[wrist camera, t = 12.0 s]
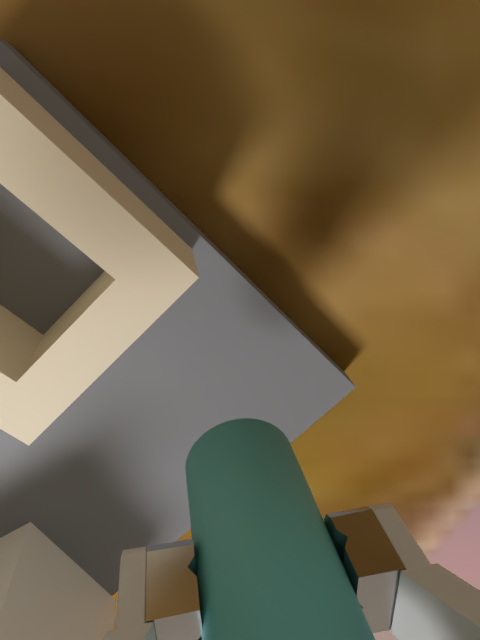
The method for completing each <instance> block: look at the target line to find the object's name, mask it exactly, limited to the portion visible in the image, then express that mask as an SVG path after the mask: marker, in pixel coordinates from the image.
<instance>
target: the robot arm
mask: <svg viewBox="0 0 480 640" xmlns="http://www.w3.org/2000/svg"><path fill="white" fill-rule="evenodd" d="M324 523H325V525H326V528H327V530H328V532H329V534H330V537H331V539H332V541H333V544H334V546H335V548H336V550H337V553H338V555H339V557H340V560H341V562H342V564H343V567H344V569H345V571H346V573H347V576H348V578H349V580H350V583H351V585H352V587H353V590H354V592H355V594H356V596H357V599H358V601H359V603H360V606H361V608H362V610H363V613H364V615H365V617H366V619H367V622H368V624H369V626H370V629H371V631H372V633H376V632H381V631H387V630H391V633H392V634H393V635H395V637H397V638H398V639H399V640H480V590H478V589H476V588H475V587H473V586H472V585H470V584H469V583H467V582H466V581H464V580H462V579H461V578H459V577H458V576H456V575H455V574H453V573H451V572H450V571H448V570H447V569H445V568H443V567H442V566H440V565H439V564H430V562H429V561H428V559H427V558H426V556H425V554H424V553H423V551H422V550H421V548H420V547H419V545H418V544H417V542H416V541H415V539H414V538H413V536H412V534H411V533H410V531H409V530H408V528H407V527H406V525H405V524H404V522H403V521H402V519H401V518H400V516H399V514H398V513H397V511H396V510H395V508H394V507H393V506H392V505H391V504H390V503H386V504H380V505H374V506H369V507H361V508H356V509H351V510H346V511H341V512H336V513H330V514H326V516H325V518H324ZM201 635H202V620H201V610H200V600H199V590H198V582H197V570H196V561H195V552H194V543H193V539H190V540H183V541H177V542H170V543H164V544H157V545H150V546H145V547H139V548H133V549H127V550H123V551H122V555H121V560H120V573H119V587H118V601H117V615H116V628H115V629H114V630H110V631H107V633H106V635H105V636H104V638H103V639H102V640H202V638H201Z"/></svg>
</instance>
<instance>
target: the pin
mask: <svg viewBox="0 0 480 640" xmlns="http://www.w3.org/2000/svg"><path fill="white" fill-rule="evenodd" d="M185 469H186V481H187V492H188V502H189V512H190V523H191V533H192V539H193V543H194V552H195V561H196V570H197V582H198V590H199V600H200V610H201V620H202V635H201V638H202V640H375V638H374V636H373V633H372V631H371V629H370V626H369V624H368V622H367V619H366V617H365V615H364V613H363V610H362V608H361V606H360V603H359V601H358V599H357V596H356V594H355V592H354V590H353V587H352V585H351V583H350V580H349V578H348V576H347V573H346V571H345V569H344V567H343V564H342V562H341V560H340V557H339V555H338V553H337V550H336V548H335V546H334V544H333V541H332V539H331V537H330V534H329V532H328V530H327V528H326V525H325V523H324V521H323V518H322V516H321V514H320V511H319V509H318V507H317V505H316V502H315V500H314V498H313V495H312V493H311V491H310V488H309V486H308V484H307V482H306V479H305V477H304V475H303V472H302V470H301V468H300V465H299V463H298V461H297V459H296V456H295V454H294V452H293V449H292V447H291V445H290V442H289V440H288V438H287V437H286V435H285V434H284V433H283V432H282V431H281V430H280V429H279V428H277V427H276V426H274V425H273V424H271V423H269V422H266V421H263V420H259V419H252V418H242V419H235V420H230V421H227V422H224V423H221V424H219V425H217V426H215V427H213V428H211V429H209V430H208V431H207V432H205V433H204V434H203V435H202V436H201V437H200V438H199V439H198V440H197V441H196V442H195V443H194V445H193V446H192V448H191V449H190V451H189V454H188V456H187V460H186V466H185Z"/></svg>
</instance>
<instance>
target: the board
mask: <svg viewBox="0 0 480 640" xmlns="http://www.w3.org/2000/svg"><path fill="white" fill-rule="evenodd" d="M354 388H356V387H355V385H354V384H353V383H352V381H351V380H350V379H349V377H348V376H347V375H346V373H345V372H344V371H343V370H342V369H341V368H340V367H339V366H338V365H337V364H336V363H335V362H334V361H333V360H332V359H331V358H330V357H329V356H328V355H327V354H326V353H325V352H324V351H323V350H322V349H321V348H320V347H319V346H318V345H316V344H315V343H314V342H313V341H312V340H311V339H310V338H309V337H308V336H307V335H306V334H305V333H304V332H303V331H302V330H301V329H300V328H299V327H298V326H297V325H296V324H295V323H294V322H293V321H292V320H291V319H290V318H289V317H288V316H287V315H286V314H285V313H284V312H283V311H282V310H281V309H280V308H279V307H278V306H277V305H276V304H275V303H274V302H273V301H272V300H271V299H270V298H269V297H268V296H267V295H266V294H265V293H264V292H263V291H261V290H260V289H259V288H258V287H257V286H256V285H255V284H254V283H253V282H252V281H251V280H250V279H249V278H248V277H247V276H246V275H245V274H244V273H243V272H242V271H241V270H240V269H239V268H238V267H237V266H236V265H235V264H234V263H233V262H232V261H231V260H230V259H229V258H228V257H227V256H226V255H225V254H224V253H223V252H222V251H221V250H220V249H219V248H218V247H217V246H216V245H215V244H214V243H213V242H212V241H211V240H210V239H209V238H208V237H207V236H205V235H204V234H203V233H202V232H201V231H200V230H199V229H198V228H197V227H196V226H195V225H194V224H193V223H192V222H191V221H190V220H189V219H188V218H187V217H186V216H185V215H184V214H183V213H182V212H181V211H180V210H179V209H178V208H177V207H176V206H175V205H174V204H173V203H172V202H171V201H170V200H169V199H168V198H167V197H166V196H165V195H164V194H163V193H162V192H161V191H160V190H159V189H158V188H157V187H156V186H155V185H154V184H153V183H152V182H150V181H149V180H148V179H147V178H146V177H145V176H144V175H143V174H142V173H141V172H140V171H139V170H138V169H137V168H136V167H135V166H134V165H133V164H132V163H131V162H130V161H129V160H128V159H127V158H126V157H125V156H124V155H123V154H122V153H121V152H120V151H119V150H118V149H117V148H116V147H115V146H114V145H113V144H112V143H111V142H110V141H109V140H108V139H107V138H106V137H105V136H104V135H103V134H102V133H101V132H100V131H99V130H98V129H97V128H96V127H94V126H93V125H92V124H91V123H90V122H89V121H88V120H87V119H86V118H85V117H84V116H83V115H82V114H81V113H80V112H79V111H78V110H77V109H76V108H75V107H74V106H73V105H72V104H71V103H70V102H69V101H68V100H67V99H66V98H65V97H64V96H63V95H62V94H61V93H60V92H59V91H58V90H57V89H56V88H55V87H54V86H53V85H52V84H51V83H50V82H49V81H48V80H47V79H46V78H45V77H44V76H43V75H42V74H41V73H39V72H38V71H37V70H36V69H35V68H34V67H33V66H32V65H31V64H30V63H29V62H28V61H27V60H26V59H25V58H24V57H23V56H22V55H21V54H20V53H19V52H18V51H17V50H16V49H15V48H14V47H13V46H12V45H11V44H10V43H9V42H7V41H6V40H4V39H2V38H0V538H1V537H3V536H5V535H7V534H9V533H11V532H12V531H14V530H16V529H18V528H20V527H22V526H24V525H26V524H27V523H29V522H31V523H32V524H33V525H35V526H36V527H37V528H38V529H39V530H40V531H41V532H42V533H43V534H44V535H46V536H47V537H48V538H49V539H50V540H51V541H52V542H53V543H54V544H55V545H57V546H58V547H59V548H60V549H61V550H62V551H63V552H64V553H65V554H66V555H67V556H69V557H70V558H71V559H72V560H73V561H74V562H75V563H76V564H77V565H78V566H80V567H81V568H82V569H83V570H84V571H85V572H86V573H87V574H88V575H89V576H91V577H92V578H93V579H94V580H95V581H96V582H97V583H98V584H99V585H100V586H101V587H103V588H104V589H105V590H106V591H107V592H108V593H109V594H110V595H111V596H112V595H114V594H115V593H116V592H117V591H118V587H119V573H120V560H121V555H122V551H123V550H127V549H133V548H139V547H145V546H150V545H157V544H164V543H170V542H176V541H177V540H178V539H179V538H180V537H181V536H183V535H184V534H185V533H186V532H187V531H188V530H190V529H191V523H190V512H189V502H188V492H187V481H186V469H185V466H186V460H187V456H188V454H189V451H190V449H191V448H192V446H193V445H194V443H195V442H196V441H197V440H198V439H199V438H200V437H201V436H202V435H203V434H204V433H205V432H207V431H208V430H209V429H211V428H213V427H215V426H217V425H219V424H221V423H224V422H227V421H230V420H235V419H242V418H252V419H259V420H263V421H266V422H269V423H271V424H273V425H274V426H276V427H277V428H279V429H280V430H281V431H282V432H283V433H284V434H285V435H286V437H287V438H288V440H289V442H290V443H291V442H292V441H294V440H295V439H296V438H297V437H298V436H299V435H301V434H302V433H303V432H304V431H305V430H306V429H308V428H309V427H310V426H311V425H312V424H313V423H315V422H316V421H317V420H318V419H319V418H321V417H322V416H323V415H324V414H325V413H326V412H328V411H329V410H330V409H331V408H332V407H333V406H335V405H336V404H337V403H338V402H339V401H340V400H342V399H343V398H344V397H345V396H346V395H347V394H349V393H350V392H351V391H352V390H353V389H354Z"/></svg>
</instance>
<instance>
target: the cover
mask: <svg viewBox="0 0 480 640" xmlns="http://www.w3.org/2000/svg"><path fill="white" fill-rule="evenodd" d="M116 602H117V600H116V599H115V598H114V597H112V596H111V595H110V594H109V593H108V592H107V591H106V590H105V589H104V588H103V587H101V586H100V585H99V584H98V583H97V582H96V581H95V580H94V579H93V578H92V577H91V576H89V575H88V574H87V573H86V572H85V571H84V570H83V569H82V568H81V567H80V566H78V565H77V564H76V563H75V562H74V561H73V560H72V559H71V558H70V557H69V556H67V555H66V554H65V553H64V552H63V551H62V550H61V549H60V548H59V547H58V546H57V545H55V544H54V543H53V542H52V541H51V540H50V539H49V538H48V537H47V536H46V535H44V534H43V533H42V532H41V531H40V530H39V529H38V528H37V527H36V526H35V525H33V524H32V523H31V522H29V523H27V524H26V525H24V526H22V527H20V528H18V529H16V530H14V531H12V532H11V533H9V534H7V535H5V536H3V537H1V538H0V640H102V639H103V638H104V636H105V635H106V633H107V631H110V630H114V622H115V612H116Z"/></svg>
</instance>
